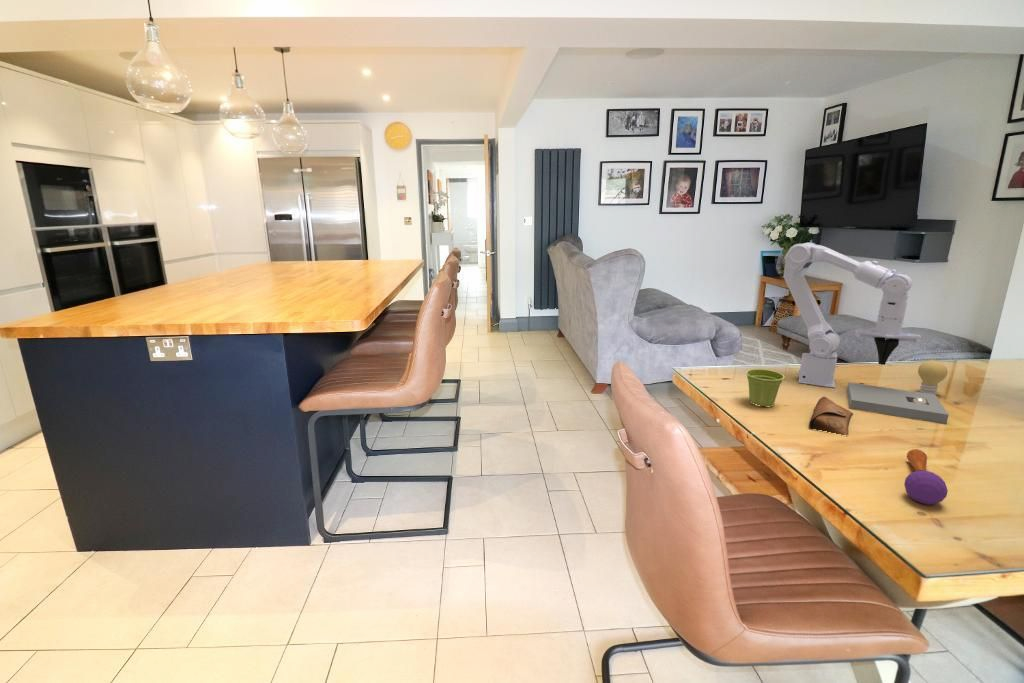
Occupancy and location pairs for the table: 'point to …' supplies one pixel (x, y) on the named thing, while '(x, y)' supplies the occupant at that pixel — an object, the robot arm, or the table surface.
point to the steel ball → (919, 400)
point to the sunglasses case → (830, 417)
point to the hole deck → (895, 402)
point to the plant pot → (763, 386)
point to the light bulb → (931, 376)
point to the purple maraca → (924, 481)
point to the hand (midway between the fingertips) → (881, 363)
